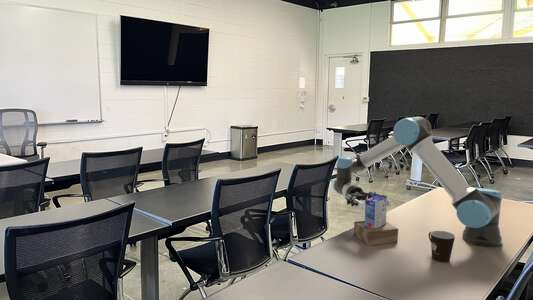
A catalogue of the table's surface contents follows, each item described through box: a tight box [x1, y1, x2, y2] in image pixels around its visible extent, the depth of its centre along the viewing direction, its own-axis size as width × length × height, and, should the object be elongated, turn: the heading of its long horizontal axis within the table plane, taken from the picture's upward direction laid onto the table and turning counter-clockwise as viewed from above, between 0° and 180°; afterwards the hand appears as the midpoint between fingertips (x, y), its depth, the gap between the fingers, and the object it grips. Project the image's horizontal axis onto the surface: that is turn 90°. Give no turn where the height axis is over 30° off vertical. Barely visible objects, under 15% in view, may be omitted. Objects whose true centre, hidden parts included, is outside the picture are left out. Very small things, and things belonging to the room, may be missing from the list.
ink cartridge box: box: [364, 191, 388, 229], centre depth 174 cm, size 10×6×14 cm, turn 134°
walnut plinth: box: [353, 220, 399, 246], centre depth 175 cm, size 13×14×6 cm
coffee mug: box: [428, 230, 456, 264], centre depth 155 cm, size 12×9×10 cm
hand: (376, 205), depth 173 cm, fingers open, 13 cm apart
